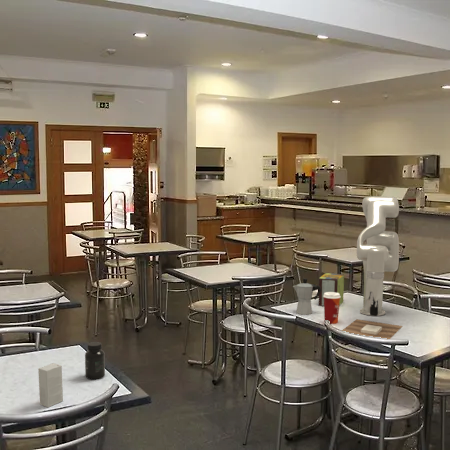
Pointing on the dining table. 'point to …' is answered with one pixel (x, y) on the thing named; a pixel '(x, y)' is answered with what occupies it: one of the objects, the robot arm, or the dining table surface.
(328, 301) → the coffee cup
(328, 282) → the protein box
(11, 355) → the dining table surface
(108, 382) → the dining table surface
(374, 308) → the robot arm
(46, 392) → the skincare box
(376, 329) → the tile
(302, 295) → the coffee maker
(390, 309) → the dining table surface
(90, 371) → the supplement bottle
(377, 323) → the board
